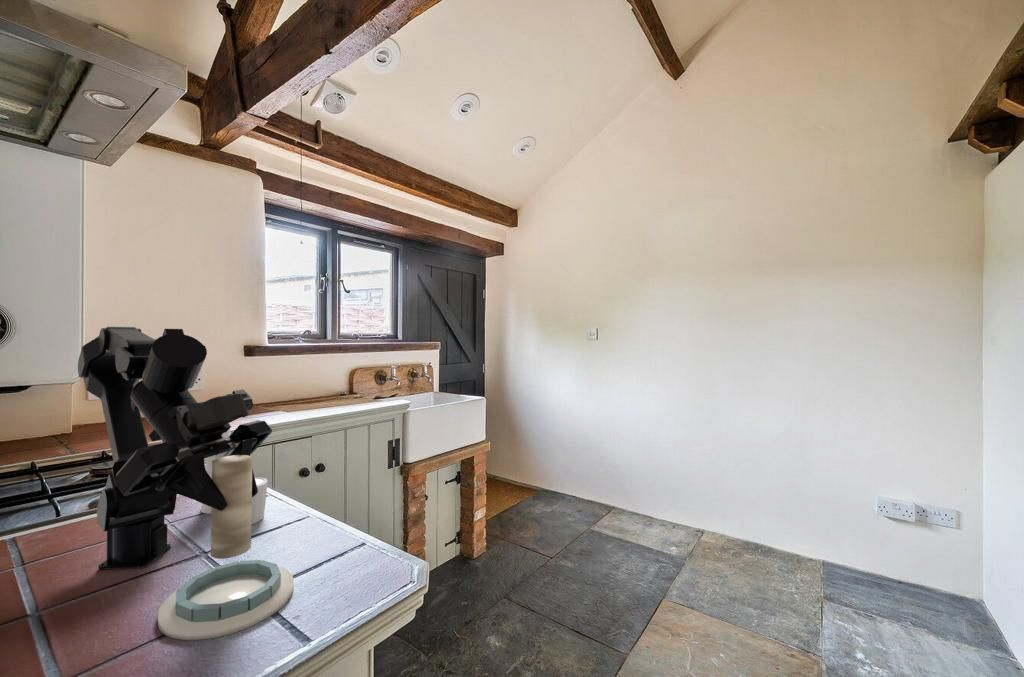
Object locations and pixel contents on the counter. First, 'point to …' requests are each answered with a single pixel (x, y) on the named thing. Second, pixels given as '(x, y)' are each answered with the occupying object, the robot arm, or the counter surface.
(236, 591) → the ring dish
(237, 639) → the counter surface
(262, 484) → the white cup
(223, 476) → the birch cylinder
